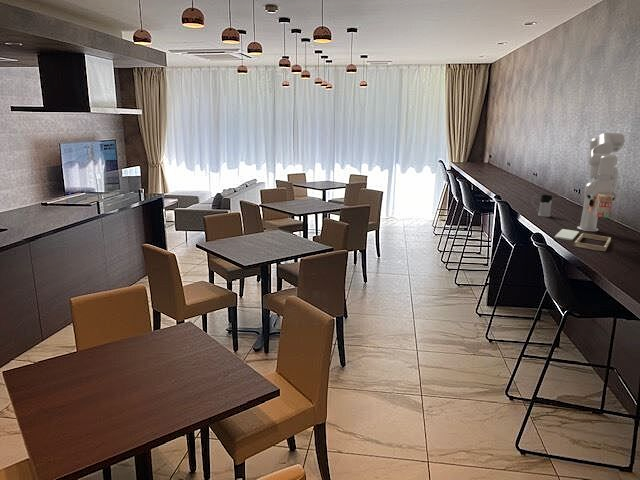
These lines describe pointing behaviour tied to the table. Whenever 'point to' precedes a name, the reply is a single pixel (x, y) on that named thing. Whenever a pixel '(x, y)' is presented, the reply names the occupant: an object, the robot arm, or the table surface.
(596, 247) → the beige open rectangular frame
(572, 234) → the sage mat
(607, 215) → the stack of blocks
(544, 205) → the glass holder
